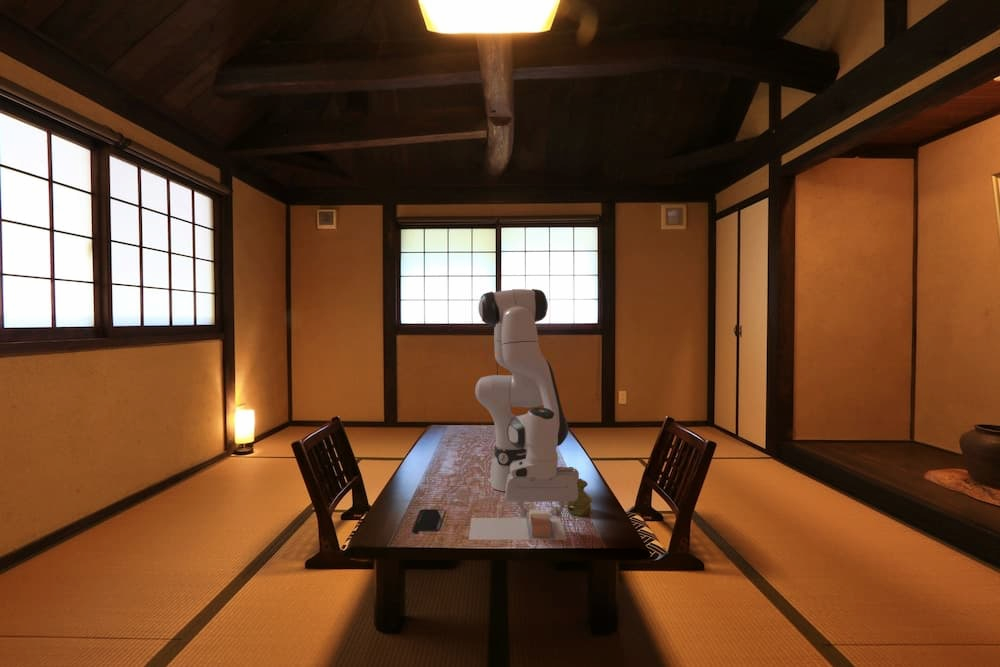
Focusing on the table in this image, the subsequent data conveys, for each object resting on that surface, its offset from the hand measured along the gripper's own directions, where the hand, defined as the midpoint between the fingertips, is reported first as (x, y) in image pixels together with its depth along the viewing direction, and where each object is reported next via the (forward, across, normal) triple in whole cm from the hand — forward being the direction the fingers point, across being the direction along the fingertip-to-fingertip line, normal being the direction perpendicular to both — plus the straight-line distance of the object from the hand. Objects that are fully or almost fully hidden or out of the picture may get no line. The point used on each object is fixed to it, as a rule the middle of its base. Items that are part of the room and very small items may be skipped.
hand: (541, 515), depth 137 cm
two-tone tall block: (+3, 0, +1) cm, 3 cm away
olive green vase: (+4, -13, -12) cm, 19 cm away
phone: (+4, +32, -6) cm, 33 cm away
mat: (+4, +7, 0) cm, 8 cm away
